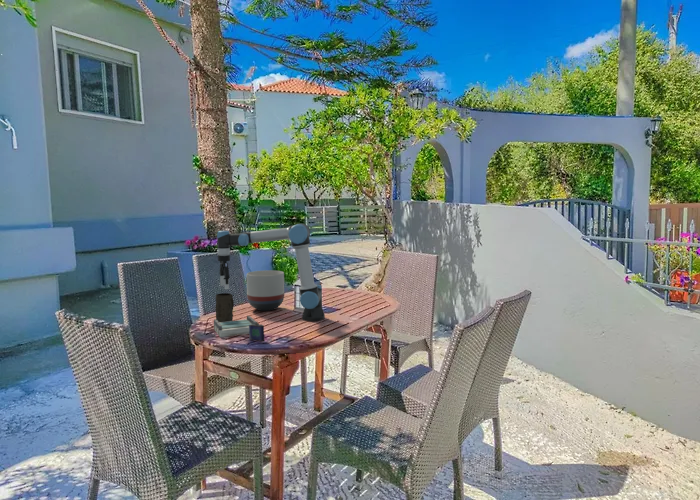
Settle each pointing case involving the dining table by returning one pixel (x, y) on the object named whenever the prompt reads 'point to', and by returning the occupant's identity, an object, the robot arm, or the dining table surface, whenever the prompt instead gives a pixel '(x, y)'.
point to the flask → (256, 332)
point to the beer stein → (224, 307)
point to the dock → (233, 327)
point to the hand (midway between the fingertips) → (224, 287)
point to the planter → (265, 289)
